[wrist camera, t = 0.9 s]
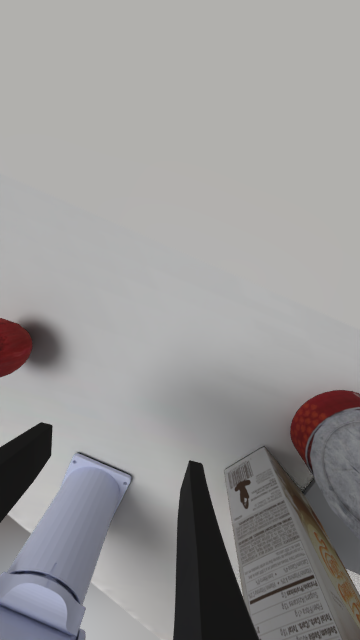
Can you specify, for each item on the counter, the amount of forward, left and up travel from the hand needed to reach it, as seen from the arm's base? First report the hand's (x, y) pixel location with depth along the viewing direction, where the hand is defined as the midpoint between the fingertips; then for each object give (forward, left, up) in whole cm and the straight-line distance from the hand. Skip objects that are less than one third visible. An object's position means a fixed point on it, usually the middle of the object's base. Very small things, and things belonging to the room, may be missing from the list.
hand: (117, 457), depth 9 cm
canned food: (+2, -21, -11) cm, 24 cm away
